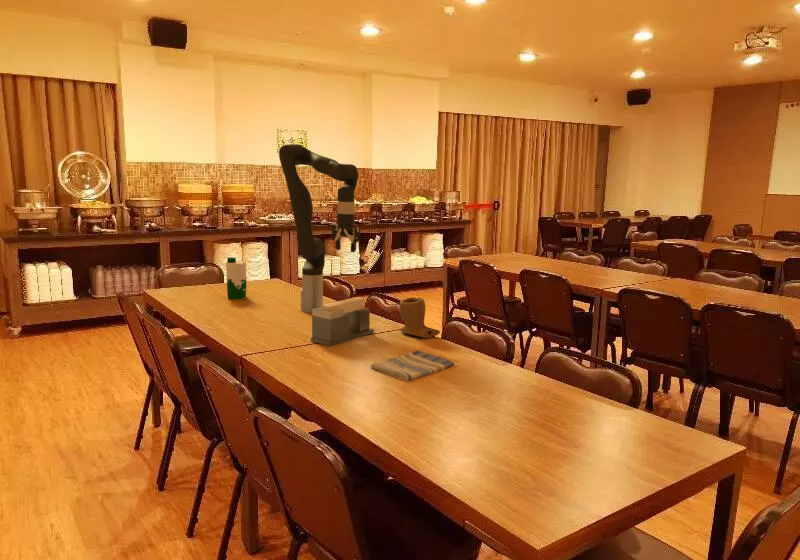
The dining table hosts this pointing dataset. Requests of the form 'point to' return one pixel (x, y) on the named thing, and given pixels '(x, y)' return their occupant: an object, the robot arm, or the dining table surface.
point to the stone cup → (415, 318)
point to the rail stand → (339, 325)
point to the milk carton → (236, 278)
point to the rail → (345, 305)
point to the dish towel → (412, 365)
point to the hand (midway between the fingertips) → (345, 250)
